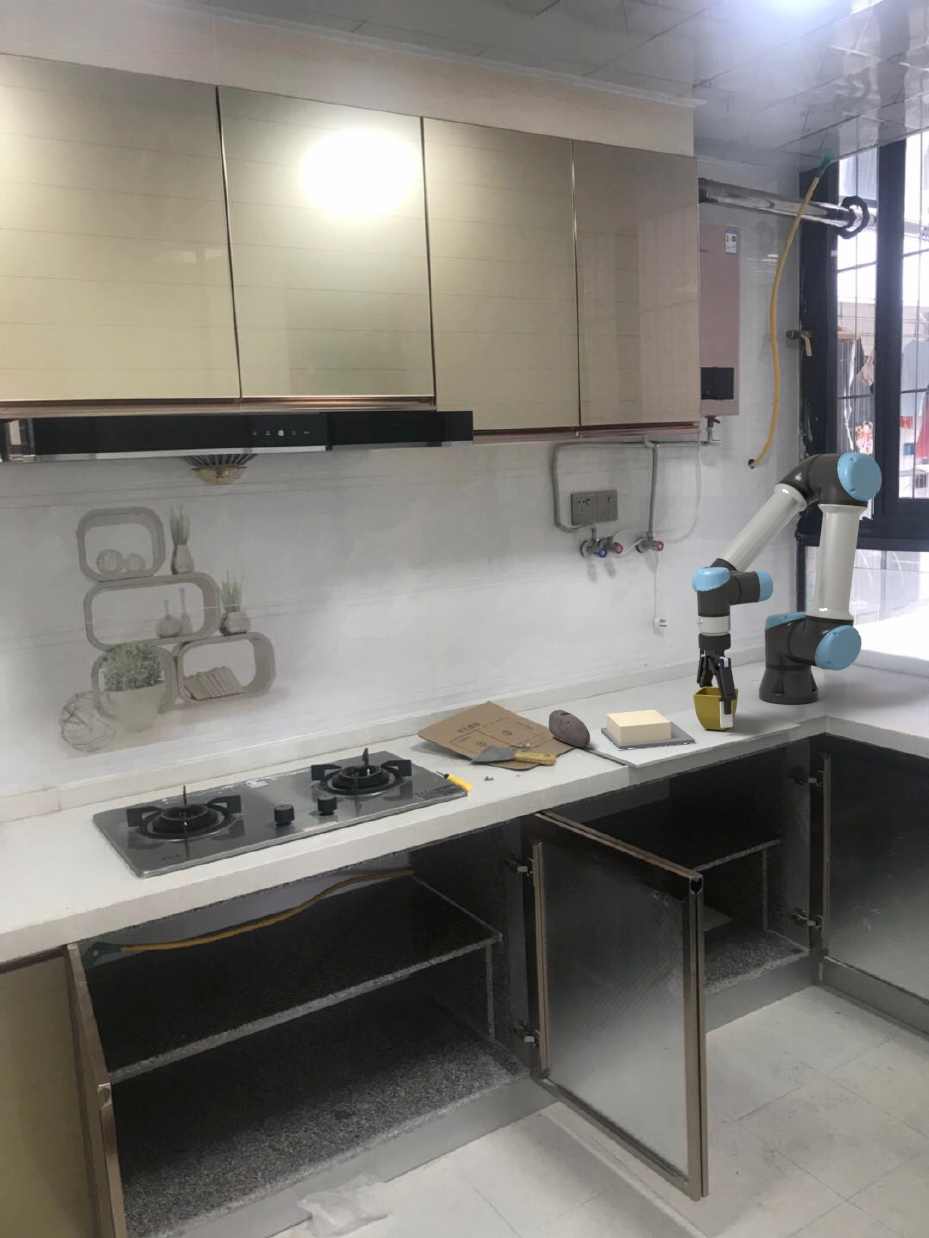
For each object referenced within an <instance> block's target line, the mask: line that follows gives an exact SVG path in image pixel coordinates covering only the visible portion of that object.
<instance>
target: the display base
mask: <svg viewBox="0 0 929 1238" xmlns="http://www.w3.org/2000/svg"><path fill="white" fill-rule="evenodd" d="M600 732H601V734H602V735H603V734H604V735H603V736H606V737H607V738H608V739H609V740H610V741H611V742H613V744H614V745H615V746H616V747H617V748H619V749H628V748H641V749H648V748H647V747H652V748H658V747H657V746H663V747H666V746H665V745H673V746H676V745H675V744H684V743H695V744H696V739H695V738H694V737H693V736H691V735H690V734H689V733H687V732H686V731H685V730H683V729H682V728H681V727H679V726H678V725H676V724H675V723H674V722H673V721H670V720H668V719H667V718H665V716H663V715H662V714H661V713H659V712H658V711H656V710H655V709H648V710H647V709H646V710H637V711H634V710H633V711H627V712H626V711H623V712H614V713H613V712H612V713H606V727H600ZM606 737H605V738H606ZM608 739H607V740H608ZM609 740H608V741H609ZM610 741H609V742H610ZM611 742H610V743H611ZM613 744H612V745H613ZM614 745H613V746H614ZM684 745H685V744H684ZM615 746H614V747H615ZM616 747H615V748H616ZM617 748H616V749H617Z"/></svg>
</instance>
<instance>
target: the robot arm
mask: <svg viewBox="0 0 929 1238" xmlns="http://www.w3.org/2000/svg"><path fill="white" fill-rule="evenodd" d="M882 482H883V480H882V472H881V468H880V466H879V464H878V463H877V462H876V460H875V459H874V458H873V457H872V456H871V455H869V454H867V453H864V452H853V451H851V452H850V451H846V452H837V453H836V452H834V453H819V454H818V453H817V454H814V455H812V456H809V457H807V458H806V459H804V460H802V461H800V462H799V463H797V465H796V466H794V467H793V468H791V469H790V470H789V471H788V473H786V474H785V475H784V476H783V477H782V479H780V481H779V482H778V483H777V484H775V486H774V488H773V491H774V493H773V494H772V495H771V497H770V498H769V499H768V500H767V501H766V502H765V503H764V505H763V506H761V508H760V509H759V510H758V511H757V512H756V513H755V515H753V517H752V518H751V519H750V520H749V522H748V523H747V524H746V525H745V526H744V527H743V528H742V529H741V531H739V533H737V535H736V536H735V537H734V539H732V541H731V542H730V543H729V544H728V545H727V546H726V548H725V549H723V551H722V552H721V553H720V554H719V555H718V557H717V558H716V559H715V560H714V561H713V562H712V563H711V564H710V565H709V566H703V567H700V568H697V569H696V570H695V571H694V572H693V575H692V578H691V587H692V589H693V591H694V592H695V593H696V604H697V620H696V622H695V623H696V624H697V627H698V632H699V634H698V635H697V638H698V648H699V661H698V667H697V674H696V684H698V686H699V689H701V688H702V687H714V685H713V678H714V676H715V680H716V684H717V688H719V691H720V695H721V698H720V699H719V702H720V727H721V728H726V729H727V728H733V727H734V726H733V725H734V724H733V720H732V701H733V700H736V692H735V689H736V687H735V682H734V675H733V670H732V659H731V657H726V655H725V651H727V650H729V649H731V647H732V640H731V639H732V638H731V637H732V635H731V633H730V632H731V630H732V629H731V628H732V627H731V626H732V621H731V618H732V617H731V607H732V606H738V605H744V604H753V603H755V604H758V603H760V602H765V601H767V600H769V599H770V598H771V597H772V595H773V593H774V581H773V577H771V575H770V574H769V572H767V571H765V570H752V571H747V570H748V569H749V567H750V566H751V565H752V564H753V563H754V562H755V561H756V560H757V558H758V557H759V556H760V555H761V554H762V553H763V552H764V551H765V549H766V548H767V547H768V545H770V544H771V542H772V541H773V540H774V539H775V538H776V537H777V536H778V534H779V533H781V531H782V530H783V529H784V528H785V526H786V525H787V524H788V523H790V521H791V520H792V519H793V518H794V516H795V515H796V514H797V513H798V512H803V511H805V510H806V509H807V508H808V506H810V505H811V504H812V503H814V502H817V501H818V502H817V506H818V508H819V509H820V510H821V512H822V522H821V531H820V539H819V549H818V555H817V563H816V573H815V580H814V582H815V583H814V590H813V598H812V605H811V606H812V607H810V609H809V610H807V611H793V612H783V613H775V614H774V613H773V614H770V615H769V616H767V617H766V619H765V623H764V625H765V627H764V655H765V657H764V658H765V659H764V660H765V662H764V664H765V667H764V669H765V670H764V673H763V676H762V679H761V681H760V684H759V688H758V697H759V699H760V700H761V701H765V702H767V703H773V704H780V705H800V704H801V705H803V704H808V703H812V702H816V701H817V700H819V688H818V686H817V683H816V680H815V677H814V675H813V671H812V667H816V668H820V669H822V670H825V671H826V670H827V671H842V670H846V669H847V668H849V667H850V666H851V664H853V663H854V662H855V661H856V660H857V659H858V656H859V654H861V653H860V652H861V649H862V644H863V643H862V642H863V641H862V637H861V635H860V632H859V630H858V629H857V628H856V627H854V622H855V617H854V615H852V614H851V612H850V611H849V609H850V608H849V607H850V601H851V593H852V583H853V575H854V568H855V559H856V551H857V544H858V537H859V536H858V535H859V527H860V525H859V524H860V518H861V515H862V514H863V513H865V512H866V511H867V510H868V508H869V507H868V506H869V501H870V500H872V499H874V498H875V497H876V496H877V494H879V492H880V490H881V487H882Z"/></svg>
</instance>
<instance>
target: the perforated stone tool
mask: <svg viewBox="0 0 929 1238" xmlns="http://www.w3.org/2000/svg"><path fill="white" fill-rule="evenodd" d="M548 729H549V731H550V733H551V735H552V734H553V735H554V736H553V735H552V736H553V737H555V736H556V737H558V738H559V739H561V740H563V741H564V742H563V743H565V742H567V743H569V744H568V745H570V744H571V745H570V746H573V747H577V748H586V747H587V746H588V745H589V744H590V742H591V735H590V732H589V730H588V728H587V726H586V724H585V723H584V722H583V720H581V719H579V718H578V717H577V716H576V715H574V714H573V713H571V712H568V711H565V710H563V709H556V710H553V711H552V712H550V714H549V719H548ZM556 737H555V738H556ZM559 739H558V740H559ZM567 743H566V744H567Z"/></svg>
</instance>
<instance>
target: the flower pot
mask: <svg viewBox="0 0 929 1238" xmlns="http://www.w3.org/2000/svg"><path fill="white" fill-rule="evenodd" d="M735 692H736V700H733V701H732V720H733V719H735V718H734V717H735V715H736V711H737V709H738V708H737V707H738V697H739V688H735ZM692 697H693V703H694V709H695V715H696V717H697V719H698V721H699V723H700V725H701V726H702V728H703V729H706V730H717V731H718V730H720V731H724V730H726V729H727V728H721V727H720V702H719V699H720V698H721V695H720V691H719V688H718V686H717V687H715V686H713V687H702V688H699V689H698V690H697V691H696V692H694V693H693V694H692Z"/></svg>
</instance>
